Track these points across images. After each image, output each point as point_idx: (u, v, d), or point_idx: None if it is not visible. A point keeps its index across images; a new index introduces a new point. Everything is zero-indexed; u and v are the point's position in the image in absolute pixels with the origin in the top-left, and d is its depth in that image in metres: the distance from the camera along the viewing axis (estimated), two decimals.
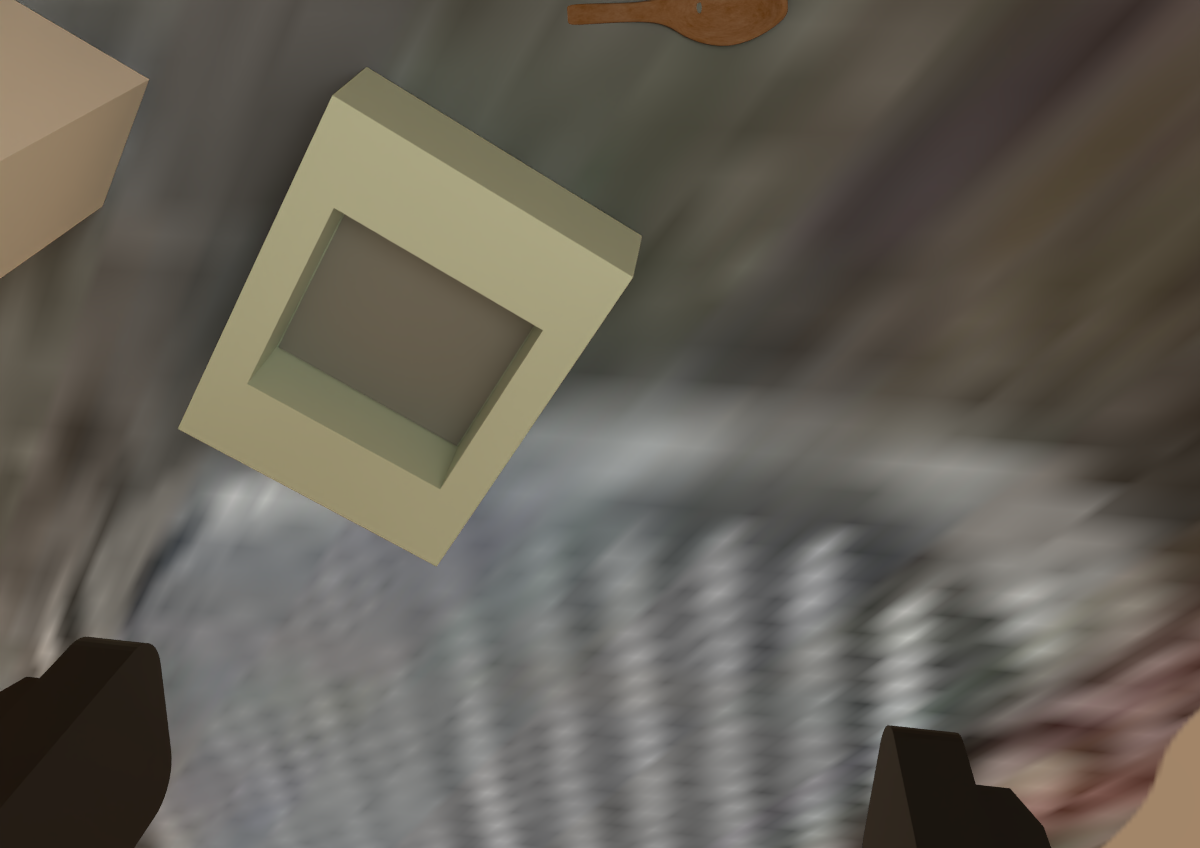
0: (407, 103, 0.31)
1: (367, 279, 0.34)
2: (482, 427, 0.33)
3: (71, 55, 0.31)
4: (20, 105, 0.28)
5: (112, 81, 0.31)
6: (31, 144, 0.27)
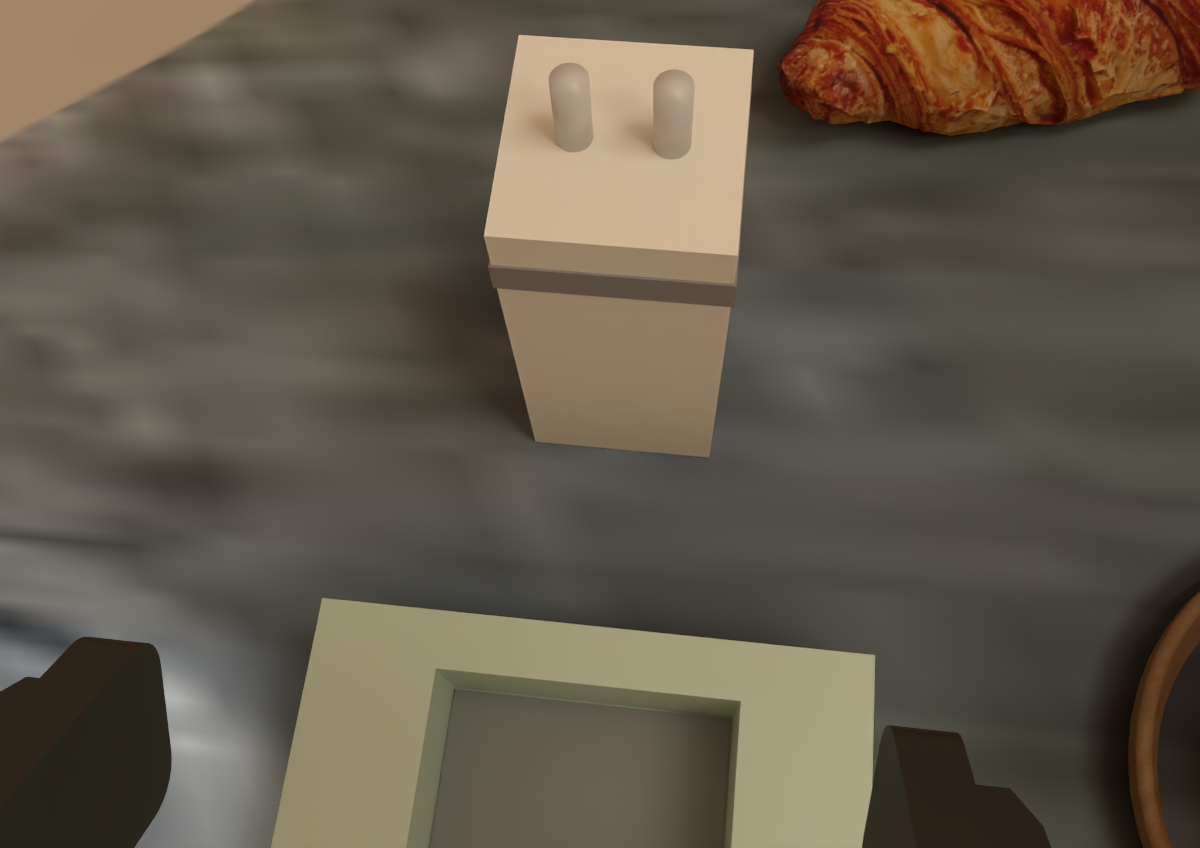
0: None
1: (604, 770, 0.26)
2: None
3: None
4: None
5: None
6: (723, 352, 0.23)
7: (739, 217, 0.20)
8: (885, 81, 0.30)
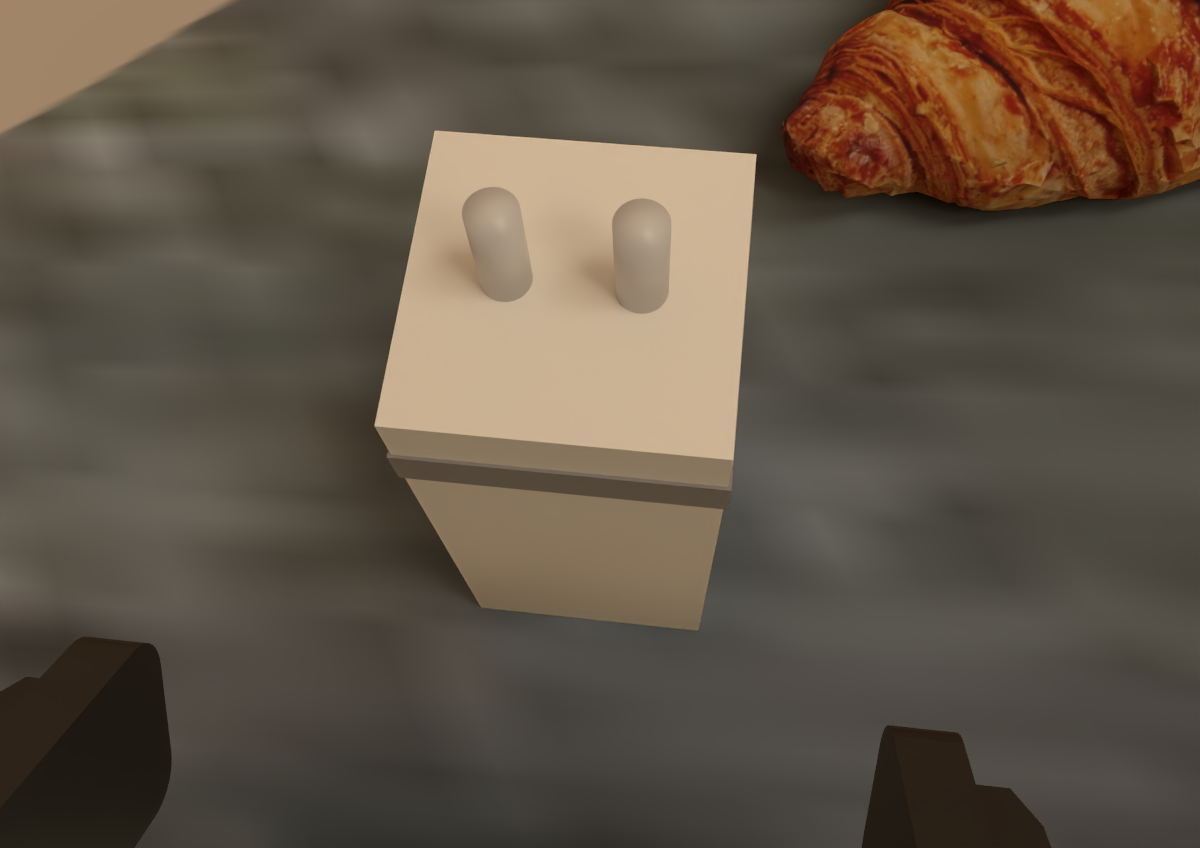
0: None
1: None
2: None
3: None
4: None
5: None
6: (714, 546, 0.17)
7: (735, 402, 0.14)
8: (915, 148, 0.24)
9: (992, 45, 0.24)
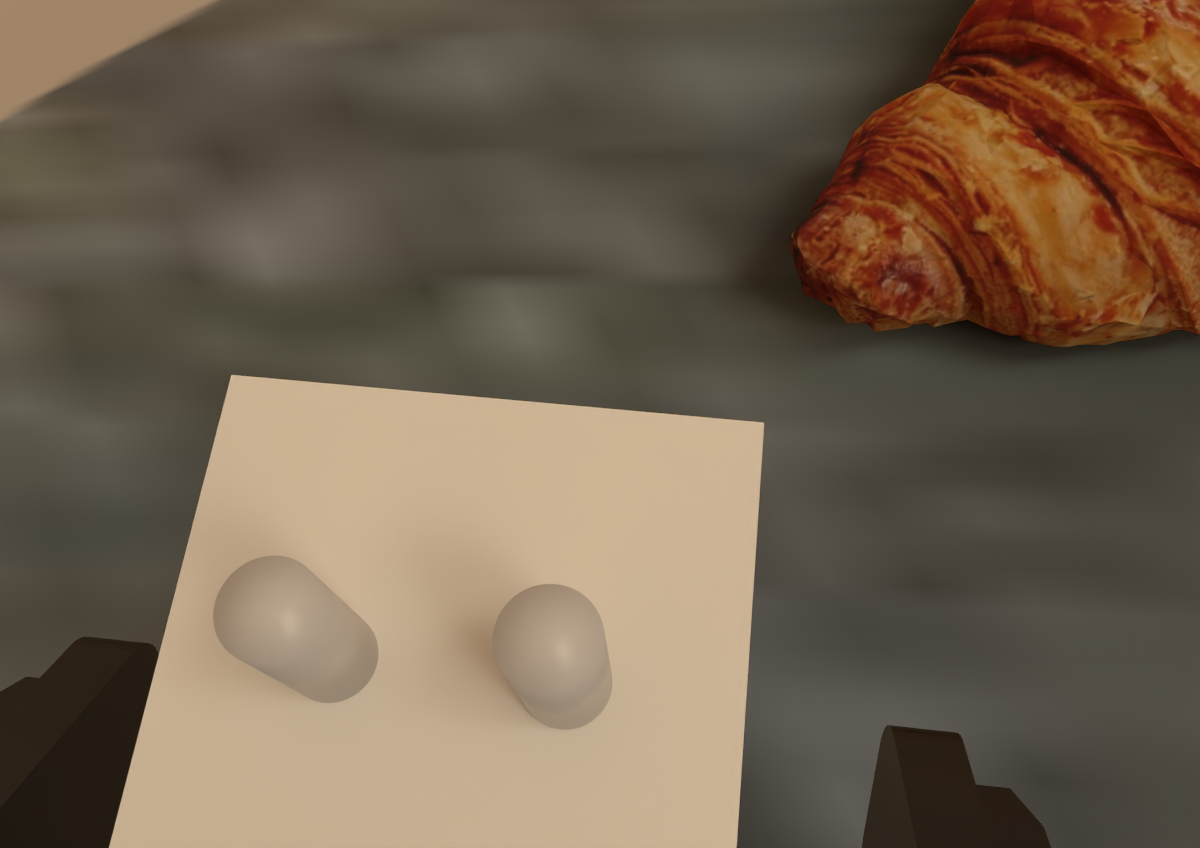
0: None
1: None
2: None
3: None
4: None
5: None
6: None
7: None
8: (970, 274, 0.18)
9: (1078, 138, 0.17)
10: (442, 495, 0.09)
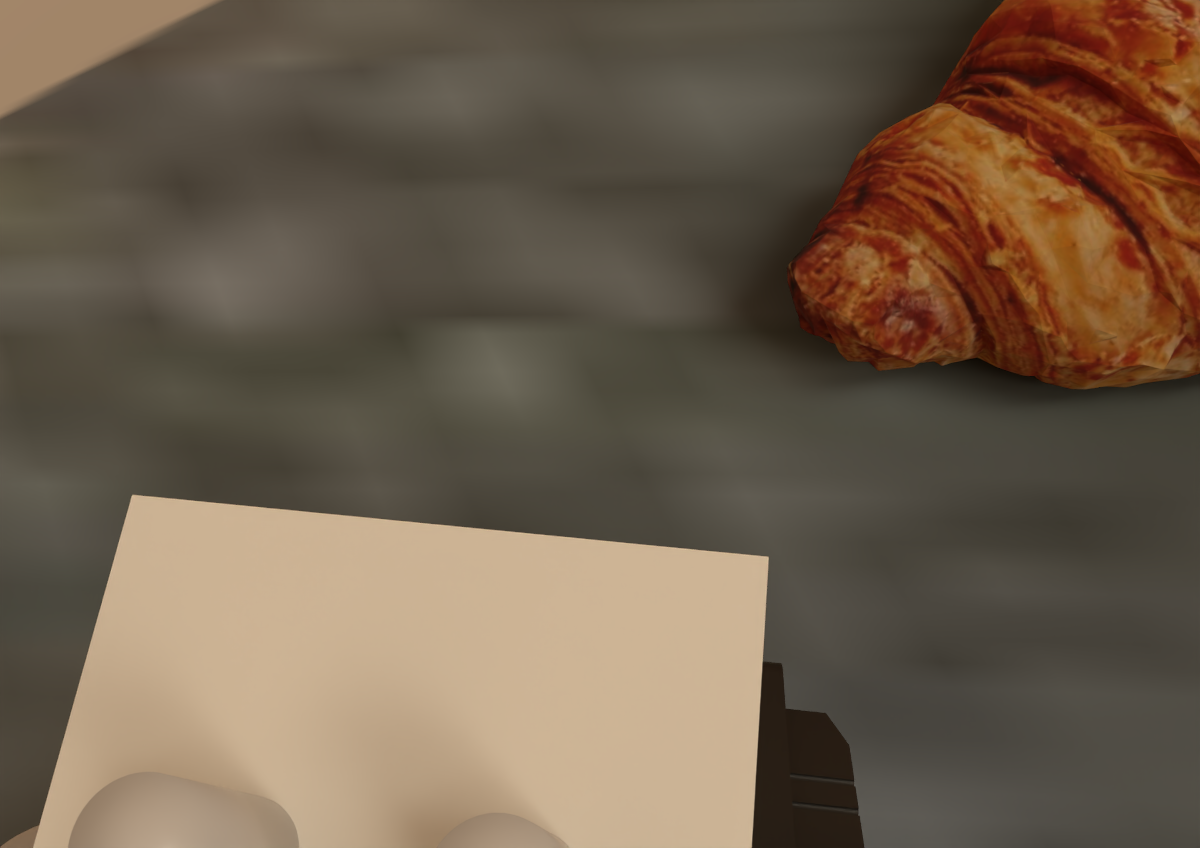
0: None
1: None
2: None
3: None
4: None
5: None
6: None
7: None
8: (981, 311, 0.17)
9: (1102, 166, 0.16)
10: (380, 647, 0.08)
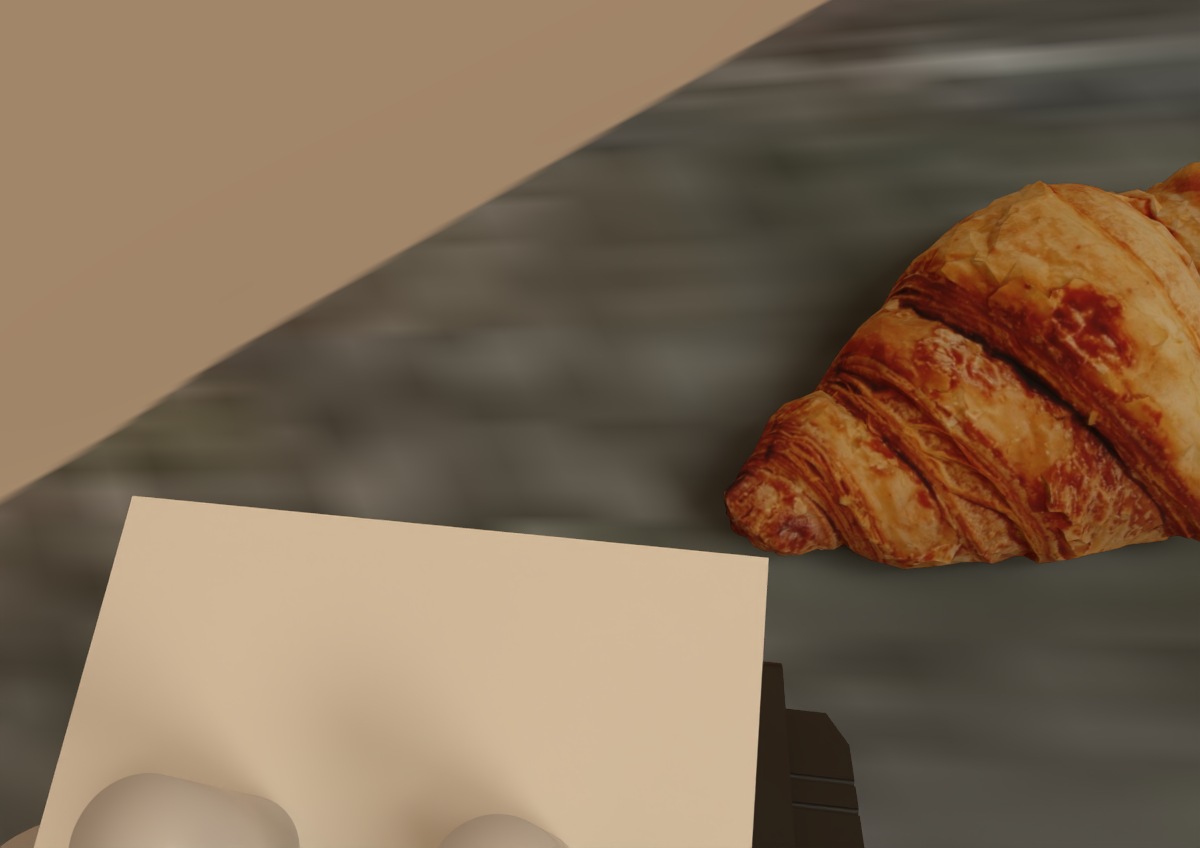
0: None
1: None
2: None
3: None
4: None
5: None
6: None
7: None
8: (838, 527, 0.27)
9: (908, 447, 0.27)
10: (381, 648, 0.08)
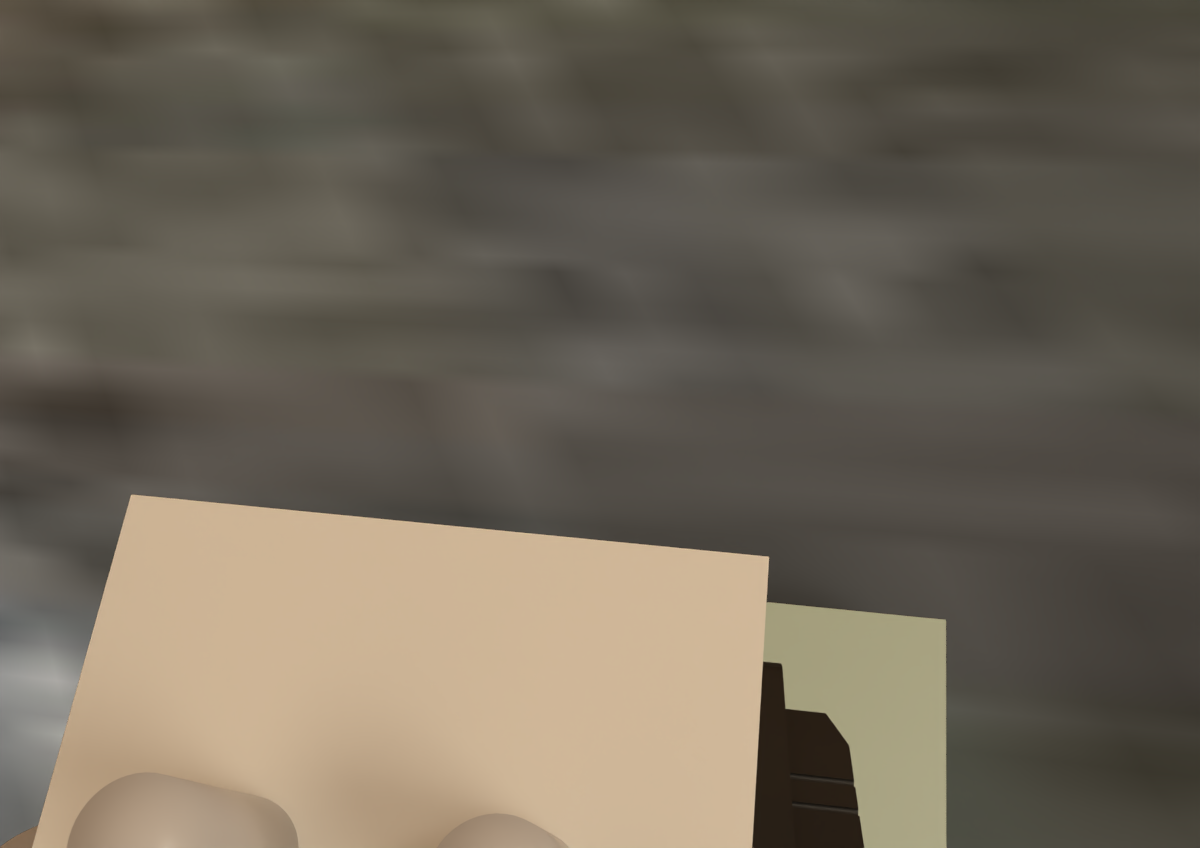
0: None
1: None
2: None
3: None
4: None
5: None
6: None
7: None
8: None
9: None
10: (380, 647, 0.08)
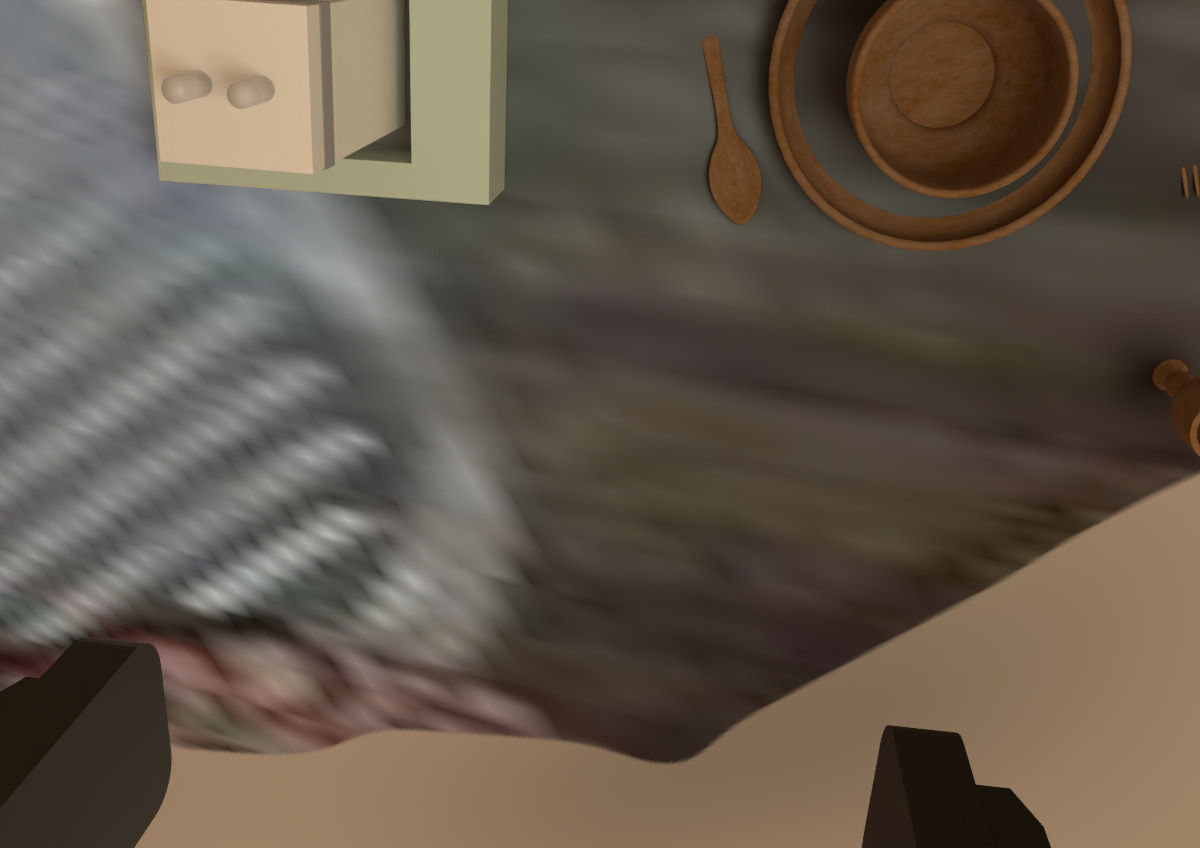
0: None
1: None
2: None
3: (396, 78, 0.40)
4: (365, 112, 0.37)
5: (396, 115, 0.40)
6: (353, 151, 0.36)
7: (310, 147, 0.32)
8: None
9: None
10: (218, 33, 0.31)
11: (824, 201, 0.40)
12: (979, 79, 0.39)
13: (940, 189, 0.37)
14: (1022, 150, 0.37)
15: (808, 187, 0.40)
